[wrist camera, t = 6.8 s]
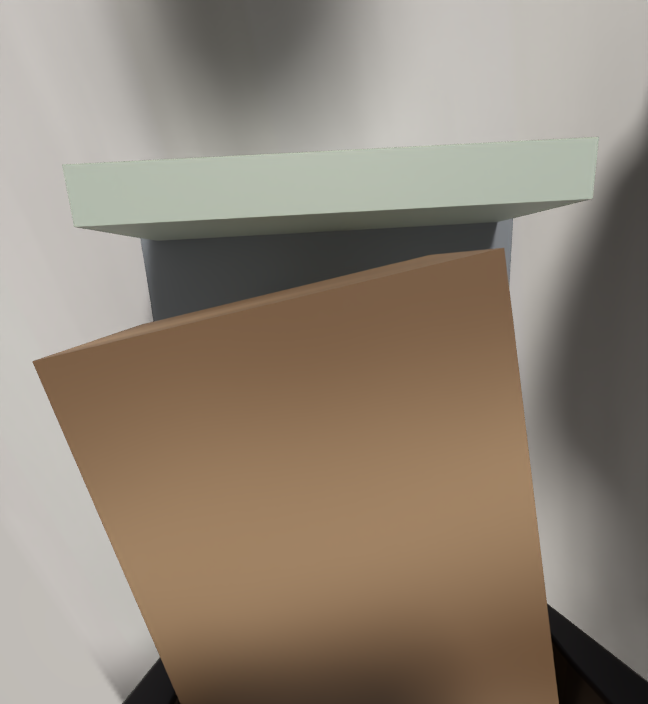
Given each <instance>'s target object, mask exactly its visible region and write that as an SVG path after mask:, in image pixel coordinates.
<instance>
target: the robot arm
mask: <svg viewBox="0 0 648 704" xmlns="http://www.w3.org/2000/svg"><path fill="white" fill-rule="evenodd" d="M547 609H548V617H549V625H550V634H551V642H552V650H553V659H554V667H555V675H556V684H557V692H558V700H559V704H648V681H646V680H645V679H644V678H642V677H641V676H640V675H639V674H637V673H636V672H635V671H633V670H632V669H631V668H630V667H628V666H627V665H626V664H624V663H623V662H622V661H621V660H619V659H618V658H617V657H615V656H614V655H613V654H612V653H610V652H609V651H608V650H606V649H605V648H604V647H602V646H601V645H600V644H599V643H597V642H596V641H595V640H593V639H592V638H591V637H590V636H588V635H587V634H586V633H584V632H583V631H582V630H581V629H579V628H578V627H577V626H575V625H574V624H573V623H572V622H570V621H569V620H568V619H566V618H565V617H564V616H563V615H561V614H560V613H559V612H557V611H556V610H555V609H554V608H552V607H551V606H550V605H548V604H547ZM122 704H180V701H179V699H178V696H177V695H176V692H175V690H174V688H173V685H172V683H171V681H170V678H169V676H168V674H167V671H166V669H165V667H164V664H163V662H162V660H161V658H159V659H158V660H157V661H156V663H155V664H154V665H153V666H152V668H151V669H150V670H149V671H148V673H147V674H146V675H145V676H144V678H143V679H142V680H141V681H140V682H139V684H138V685H137V686H136V687H135V689H134V690H133V691H132V692H131V694H130V695H129V696H128V697H127V698H126V700H125V701H124V702H123V703H122Z"/></svg>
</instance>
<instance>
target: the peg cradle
mask: <svg viewBox="0 0 648 704" xmlns="http://www.w3.org/2000/svg"><path fill="white" fill-rule="evenodd" d="M598 141H599V137H587V138H568V139H549V140H529V141H510V142H491V143H471V144H452V145H432V146H413V147H394V148H374V149H355V150H336V151H316V152H297V153H278V154H258V155H239V156H220V157H200V158H181V159H162V160H142V161H123V162H104V163H84V164H65V165H62V167H63V172H64V177H65V182H66V187H67V193H68V198H69V203H70V208H71V213H72V218H73V223H74V227H78V228H84V229H90V230H96V231H102V232H108V233H113V234H119V235H125V236H131V237H137V238H141V245H142V251H143V257H144V263H145V270H146V276H147V282H148V289H149V295H150V301H151V307H152V314H153V320H154V322H155V321H159V320H163V319H167V318H171V317H175V316H179V315H184V314H188V313H192V312H196V311H200V310H204V309H208V308H212V307H217V306H221V305H225V304H229V303H233V302H237V301H241V300H246V299H250V298H254V297H258V296H262V295H266V294H270V293H274V292H279V291H283V290H287V289H291V288H295V287H299V286H303V285H308V284H312V283H316V282H320V281H324V280H328V279H332V278H336V277H341V276H345V275H349V274H353V273H357V272H361V271H365V270H370V269H374V268H378V267H382V266H386V265H390V264H394V263H398V262H403V261H407V260H411V259H415V258H419V257H423V256H427V255H435V254H445V253H455V252H465V251H475V250H486V249H496V248H504V250H505V258H506V266H507V275H508V283H509V281H510V263H511V245H512V228H513V218H516V217H520V216H524V215H529V214H533V213H537V212H541V211H545V210H549V209H553V208H557V207H561V206H565V205H569V204H573V203H577V202H582V201H586V200H590V199H593V191H594V181H595V171H596V161H597V151H598Z"/></svg>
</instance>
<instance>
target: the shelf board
mask: <svg viewBox="0 0 648 704" xmlns="http://www.w3.org/2000/svg"><path fill="white" fill-rule="evenodd" d="M32 362H33V364H34V366H35V369H36V371H37V373H38V376H39V378H40V380H41V383H42V385H43V387H44V389H45V392H46V394H47V396H48V399H49V401H50V403H51V406H52V408H53V410H54V413H55V415H56V417H57V420H58V422H59V424H60V426H61V429H62V431H63V433H64V436H65V438H66V440H67V443H68V445H69V447H70V450H71V452H72V454H73V456H74V459H75V461H76V463H77V466H78V468H79V470H80V473H81V475H82V477H83V480H84V482H85V484H86V487H87V489H88V491H89V493H90V496H91V498H92V500H93V503H94V505H95V507H96V510H97V512H98V514H99V517H100V519H101V521H102V524H103V526H104V528H105V530H106V533H107V535H108V537H109V540H110V542H111V544H112V547H113V549H114V551H115V554H116V556H117V558H118V560H119V563H120V565H121V567H122V570H123V572H124V574H125V577H126V579H127V581H128V584H129V586H130V588H131V591H132V593H133V595H134V597H135V600H136V602H137V604H138V607H139V609H140V611H141V614H142V616H143V618H144V621H145V623H146V625H147V628H148V630H149V632H150V634H151V637H152V639H153V641H154V644H155V646H156V648H157V651H158V653H159V655H160V658H161V660H162V662H163V664H164V667H165V669H166V671H167V674H168V676H169V678H170V681H171V683H172V685H173V688H174V690H175V692H176V695H177V696H178V699H179V701H180V704H559V700H558V692H557V684H556V675H555V667H554V659H553V650H552V642H551V634H550V625H549V617H548V609H547V600H546V592H545V583H544V575H543V567H542V558H541V550H540V542H539V533H538V525H537V517H536V508H535V500H534V492H533V483H532V475H531V467H530V458H529V450H528V442H527V433H526V425H525V417H524V408H523V400H522V392H521V383H520V375H519V367H518V358H517V350H516V341H515V333H514V325H513V316H512V308H511V300H510V291H509V283H508V275H507V266H506V258H505V250H504V248H496V249H486V250H475V251H465V252H455V253H445V254H435V255H427V256H423V257H419V258H415V259H411V260H407V261H403V262H398V263H394V264H390V265H386V266H382V267H378V268H374V269H370V270H365V271H361V272H357V273H353V274H349V275H345V276H341V277H336V278H332V279H328V280H324V281H320V282H316V283H312V284H308V285H303V286H299V287H295V288H291V289H287V290H283V291H279V292H274V293H270V294H266V295H262V296H258V297H254V298H250V299H246V300H241V301H237V302H233V303H229V304H225V305H221V306H217V307H212V308H208V309H204V310H200V311H196V312H192V313H188V314H184V315H179V316H175V317H171V318H167V319H163V320H159V321H155V322H150V323H146V324H142V325H139V326H136V327H133V328H130V329H127V330H124V331H121V332H118V333H115V334H112V335H109V336H106V337H103V338H100V339H98V340H95V341H92V342H89V343H86V344H83V345H80V346H77V347H74V348H71V349H68V350H65V351H62V352H59V353H56V354H53V355H50V356H47V357H44V358H41V359H38V360H35V361H32Z"/></svg>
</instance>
